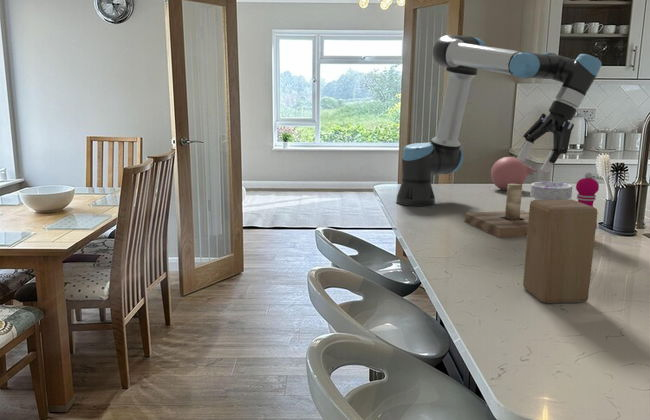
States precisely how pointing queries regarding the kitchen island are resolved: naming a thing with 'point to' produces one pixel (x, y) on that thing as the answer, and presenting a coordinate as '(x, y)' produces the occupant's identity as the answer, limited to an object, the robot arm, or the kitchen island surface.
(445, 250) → the kitchen island surface
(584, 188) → the pepper mill
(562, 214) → the wooden block
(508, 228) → the walnut board
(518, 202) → the beech peg
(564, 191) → the paper bowls
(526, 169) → the balloon
